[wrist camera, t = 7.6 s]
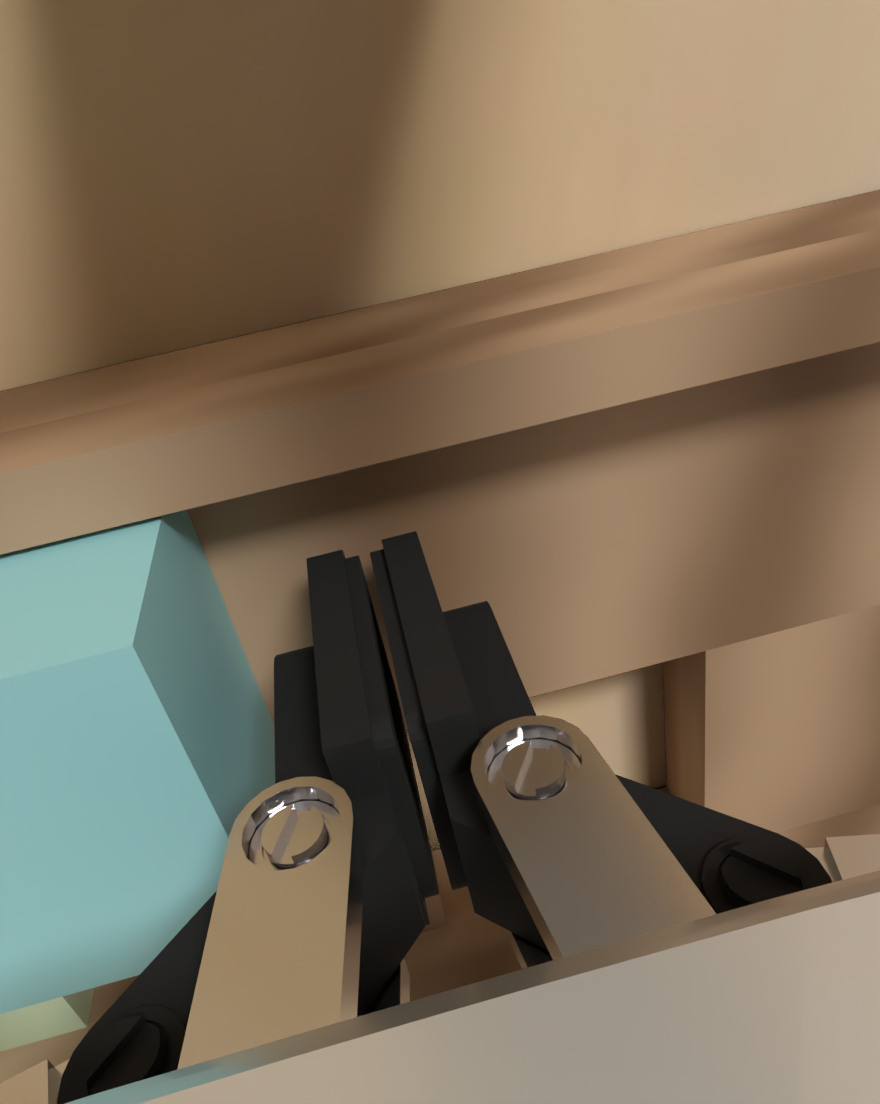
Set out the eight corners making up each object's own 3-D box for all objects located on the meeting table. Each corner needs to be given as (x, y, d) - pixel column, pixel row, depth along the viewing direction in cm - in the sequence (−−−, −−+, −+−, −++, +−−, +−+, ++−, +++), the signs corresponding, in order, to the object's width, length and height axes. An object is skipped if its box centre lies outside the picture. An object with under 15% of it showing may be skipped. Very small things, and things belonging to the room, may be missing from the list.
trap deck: (1241, 106, 14) (1622, 121, 10) (1048, 707, 21) (1219, 847, 17) (-633, 536, 12) (-1069, 761, 8) (-111, 1029, 19) (-204, 1267, 15)
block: (172, 471, 11) (132, 644, 8) (274, 726, 14) (277, 935, 11) (-191, 560, 11) (-396, 781, 8) (-15, 802, 14) (-107, 1043, 10)
